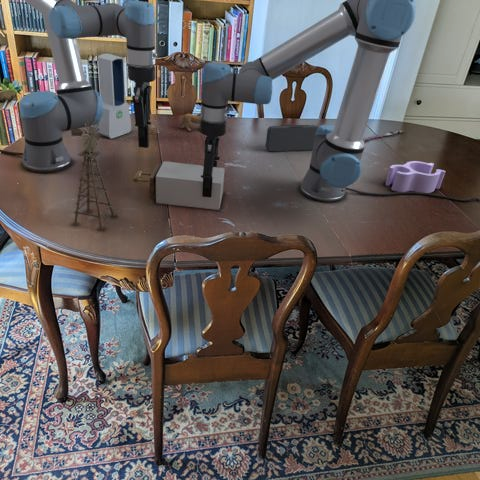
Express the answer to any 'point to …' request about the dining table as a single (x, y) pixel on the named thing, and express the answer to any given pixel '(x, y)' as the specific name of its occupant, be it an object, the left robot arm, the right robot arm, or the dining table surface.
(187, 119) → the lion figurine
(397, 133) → the sword
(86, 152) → the miniature windmill
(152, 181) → the drawer
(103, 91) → the electronic device
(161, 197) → the cabinet
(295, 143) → the handheld gaming console
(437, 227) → the dining table surface
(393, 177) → the clip
